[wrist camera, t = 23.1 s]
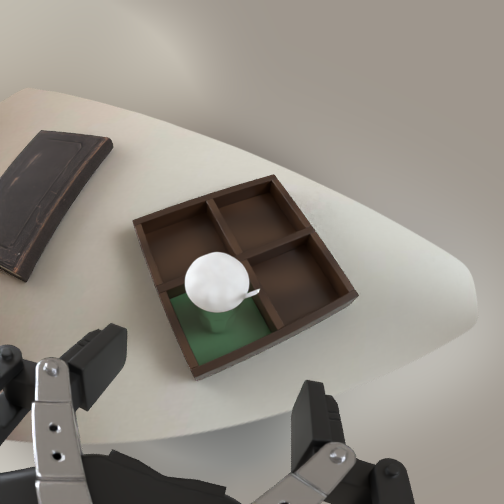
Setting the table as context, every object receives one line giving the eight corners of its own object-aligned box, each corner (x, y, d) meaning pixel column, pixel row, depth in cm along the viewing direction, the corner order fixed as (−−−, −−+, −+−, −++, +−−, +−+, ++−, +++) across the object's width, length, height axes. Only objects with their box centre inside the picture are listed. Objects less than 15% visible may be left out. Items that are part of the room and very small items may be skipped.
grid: (348, 305, 31) (359, 295, 29) (196, 381, 26) (194, 378, 23) (270, 189, 38) (274, 174, 36) (137, 234, 33) (132, 220, 30)
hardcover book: (-34, 248, 28) (-42, 240, 26) (45, 139, 40) (41, 129, 38) (28, 284, 28) (19, 275, 26) (114, 149, 40) (111, 137, 38)
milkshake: (233, 353, 26) (240, 320, 18) (183, 324, 27) (168, 278, 19) (257, 314, 29) (275, 264, 20) (209, 287, 30) (207, 228, 21)
